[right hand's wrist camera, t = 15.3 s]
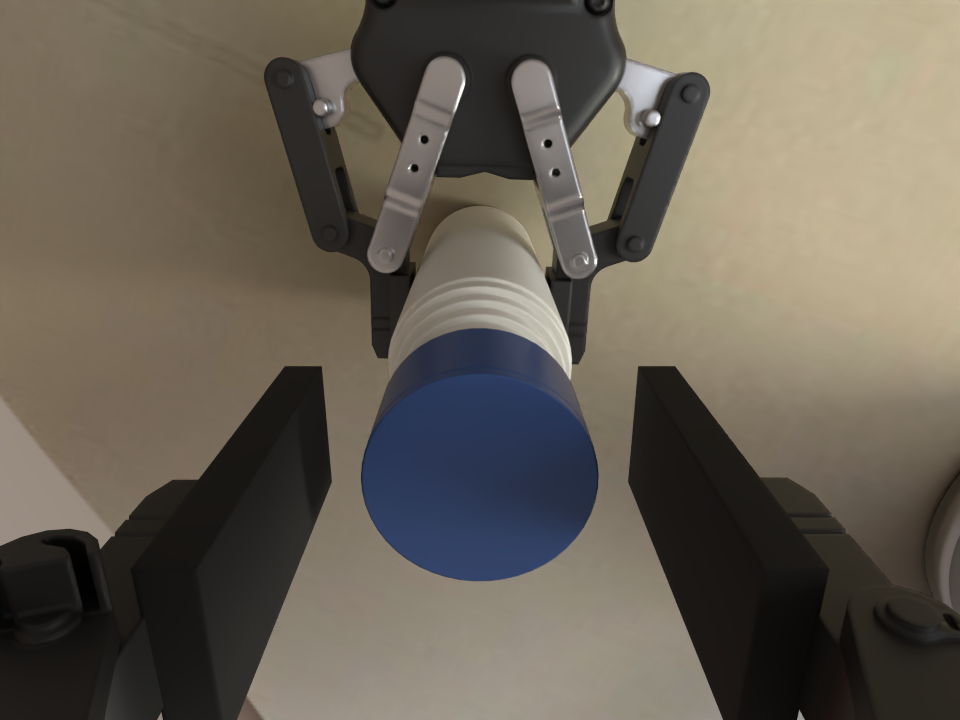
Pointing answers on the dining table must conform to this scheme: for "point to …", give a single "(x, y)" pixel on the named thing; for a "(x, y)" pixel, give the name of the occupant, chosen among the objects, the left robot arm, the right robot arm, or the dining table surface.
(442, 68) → the left robot arm
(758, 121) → the dining table surface
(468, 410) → the cap
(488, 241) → the bottle
